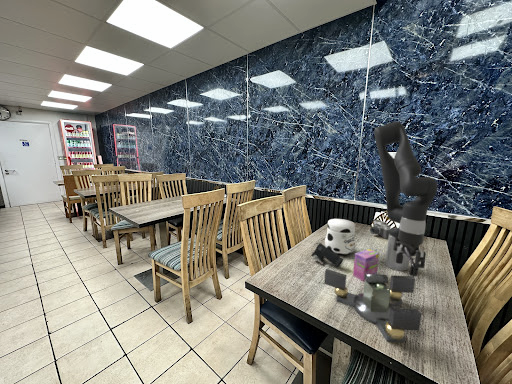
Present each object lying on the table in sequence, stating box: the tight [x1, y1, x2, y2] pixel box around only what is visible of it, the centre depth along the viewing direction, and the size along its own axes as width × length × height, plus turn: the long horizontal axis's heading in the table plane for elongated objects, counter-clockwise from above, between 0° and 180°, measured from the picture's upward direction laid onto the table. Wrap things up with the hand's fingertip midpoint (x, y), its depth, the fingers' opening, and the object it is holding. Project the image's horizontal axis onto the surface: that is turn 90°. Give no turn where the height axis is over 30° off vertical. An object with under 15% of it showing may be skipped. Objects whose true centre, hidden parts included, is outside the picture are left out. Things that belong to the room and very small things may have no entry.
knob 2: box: [385, 307, 422, 340], centre depth 62 cm, size 9×5×8 cm, turn 86°
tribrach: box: [336, 273, 406, 343], centre depth 72 cm, size 25×22×14 cm
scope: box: [310, 242, 344, 268], centre depth 108 cm, size 8×14×10 cm, turn 42°
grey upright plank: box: [323, 268, 349, 297], centre depth 82 cm, size 9×5×8 cm, turn 56°
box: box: [352, 248, 380, 282], centre depth 96 cm, size 10×6×12 cm, turn 117°
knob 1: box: [387, 274, 416, 300], centre depth 79 cm, size 9×5×8 cm, turn 86°
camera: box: [369, 219, 391, 239], centre depth 148 cm, size 16×10×10 cm, turn 2°
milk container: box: [324, 218, 356, 255], centre depth 122 cm, size 17×17×18 cm
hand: (405, 268), depth 78 cm, fingers open, 8 cm apart
